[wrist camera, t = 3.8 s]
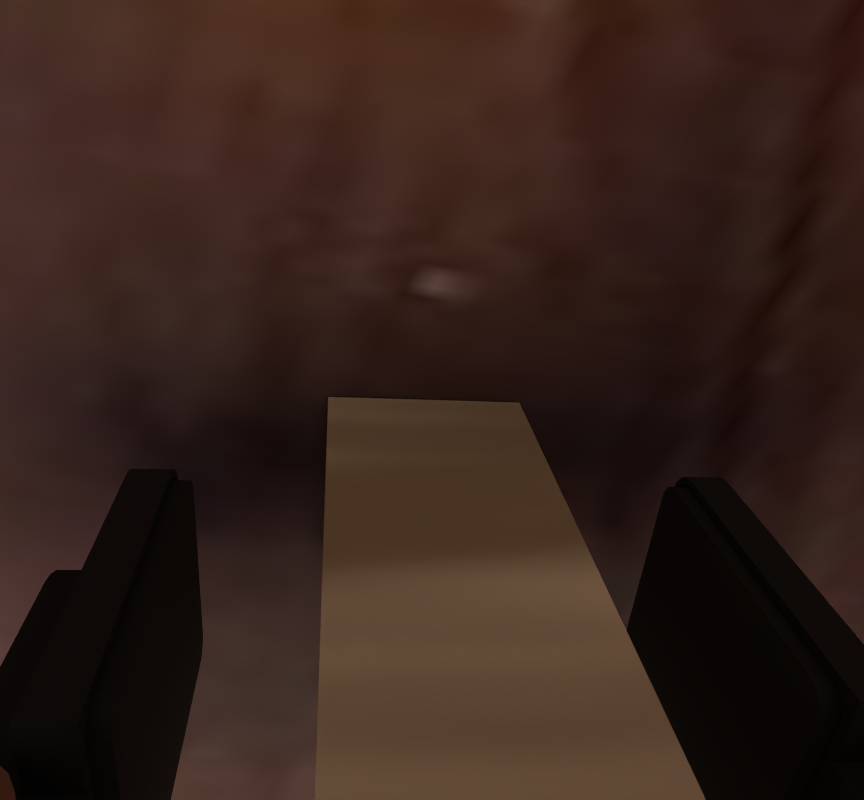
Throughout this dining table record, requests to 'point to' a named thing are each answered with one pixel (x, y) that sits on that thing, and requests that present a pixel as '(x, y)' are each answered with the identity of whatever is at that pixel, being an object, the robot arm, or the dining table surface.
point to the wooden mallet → (471, 622)
